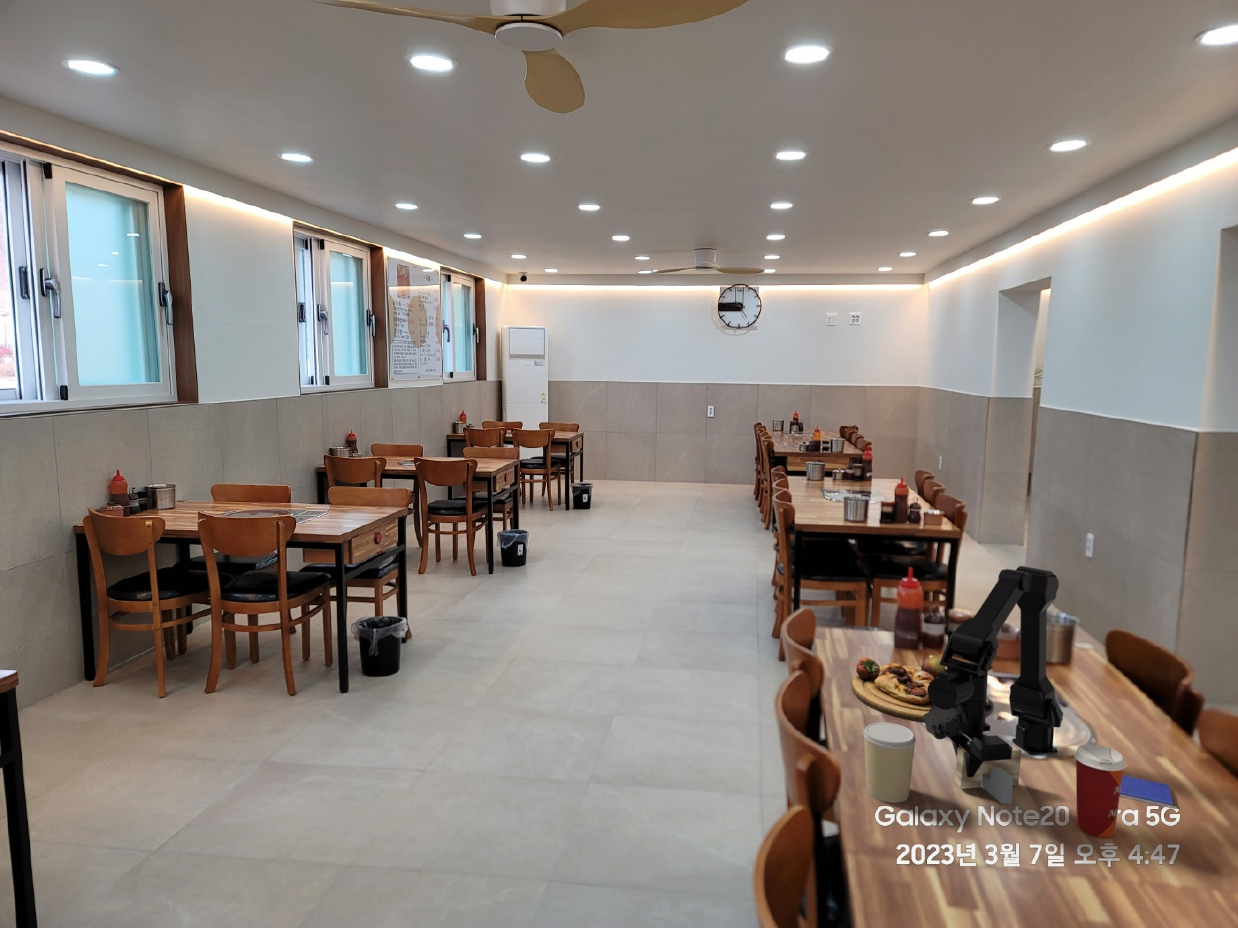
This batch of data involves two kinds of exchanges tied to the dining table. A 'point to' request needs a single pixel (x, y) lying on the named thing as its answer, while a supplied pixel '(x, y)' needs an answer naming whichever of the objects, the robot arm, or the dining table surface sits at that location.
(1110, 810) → the paper cup
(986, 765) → the birch plate
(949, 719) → the robot arm
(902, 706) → the wooden plate with food
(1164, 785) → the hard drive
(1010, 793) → the gray u-shaped block
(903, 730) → the coffee cup
